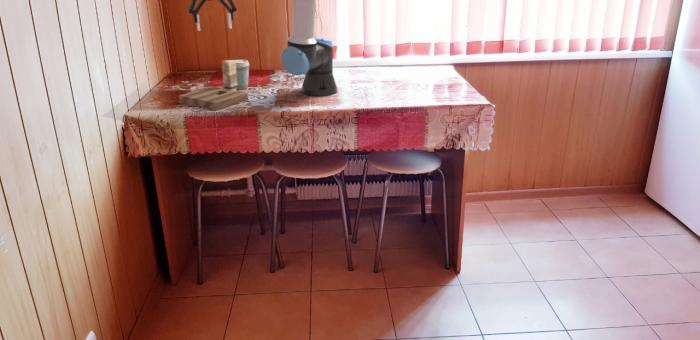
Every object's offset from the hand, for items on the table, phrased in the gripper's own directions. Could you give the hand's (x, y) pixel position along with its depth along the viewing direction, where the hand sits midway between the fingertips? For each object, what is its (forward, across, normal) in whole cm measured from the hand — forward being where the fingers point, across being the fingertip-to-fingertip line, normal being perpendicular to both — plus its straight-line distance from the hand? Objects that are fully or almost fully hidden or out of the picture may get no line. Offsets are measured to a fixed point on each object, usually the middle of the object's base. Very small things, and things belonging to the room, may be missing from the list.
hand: (214, 29), depth 222 cm
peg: (+25, -1, +15) cm, 29 cm away
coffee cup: (+25, -8, +7) cm, 27 cm away
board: (+25, +9, +24) cm, 36 cm away
